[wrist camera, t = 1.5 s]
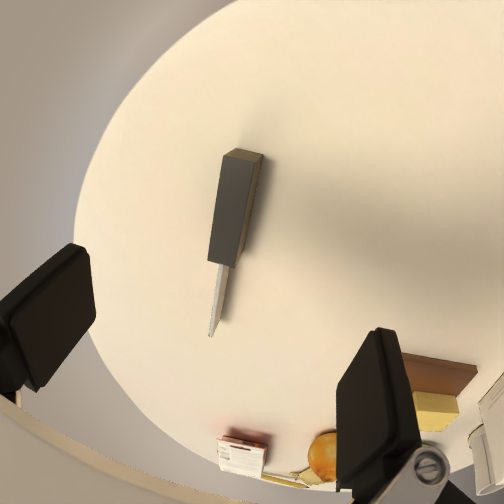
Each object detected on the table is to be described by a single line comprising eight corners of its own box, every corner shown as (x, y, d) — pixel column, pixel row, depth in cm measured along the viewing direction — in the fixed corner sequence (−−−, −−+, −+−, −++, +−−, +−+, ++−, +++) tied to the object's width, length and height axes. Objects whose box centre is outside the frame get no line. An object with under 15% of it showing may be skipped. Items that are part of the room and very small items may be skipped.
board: (387, 349, 31) (388, 357, 30) (475, 365, 30) (478, 372, 29) (340, 415, 38) (340, 421, 37) (421, 424, 37) (422, 431, 36)
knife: (235, 148, 25) (223, 155, 22) (263, 154, 25) (255, 162, 22) (208, 314, 34) (198, 335, 31) (229, 320, 34) (220, 342, 30)
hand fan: (287, 487, 51) (289, 480, 53) (327, 492, 49) (329, 485, 50) (287, 467, 46) (290, 459, 48) (335, 473, 44) (336, 465, 45)
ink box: (224, 456, 51) (221, 421, 44) (264, 464, 50) (270, 431, 43) (219, 471, 48) (214, 439, 41) (260, 480, 47) (266, 450, 40)
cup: (454, 437, 38) (463, 495, 27) (496, 409, 33) (511, 469, 23) (479, 445, 38) (488, 496, 28) (516, 420, 34) (530, 471, 23)
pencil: (310, 484, 49) (309, 487, 50) (245, 468, 53) (244, 470, 53) (310, 488, 48) (308, 490, 49) (244, 471, 52) (243, 473, 52)
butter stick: (414, 390, 32) (418, 410, 29) (455, 395, 31) (459, 413, 29) (398, 409, 34) (400, 429, 31) (437, 413, 34) (441, 431, 31)
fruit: (290, 445, 40) (305, 490, 35) (334, 426, 37) (353, 475, 32) (318, 440, 45) (332, 479, 40) (359, 422, 42) (375, 464, 37)
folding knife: (340, 481, 49) (339, 493, 47) (334, 481, 50) (333, 493, 47) (348, 464, 45) (347, 477, 42) (341, 464, 45) (340, 477, 43)
